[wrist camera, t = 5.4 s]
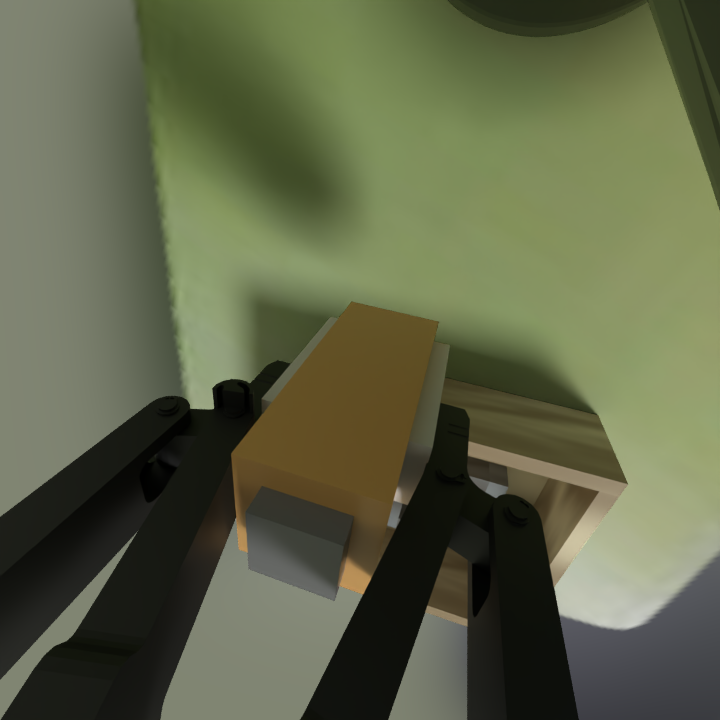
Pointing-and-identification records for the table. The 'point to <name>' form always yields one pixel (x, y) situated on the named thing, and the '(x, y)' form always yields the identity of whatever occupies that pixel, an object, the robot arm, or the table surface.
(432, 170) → the table surface
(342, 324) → the block
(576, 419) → the walled box
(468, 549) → the robot arm
